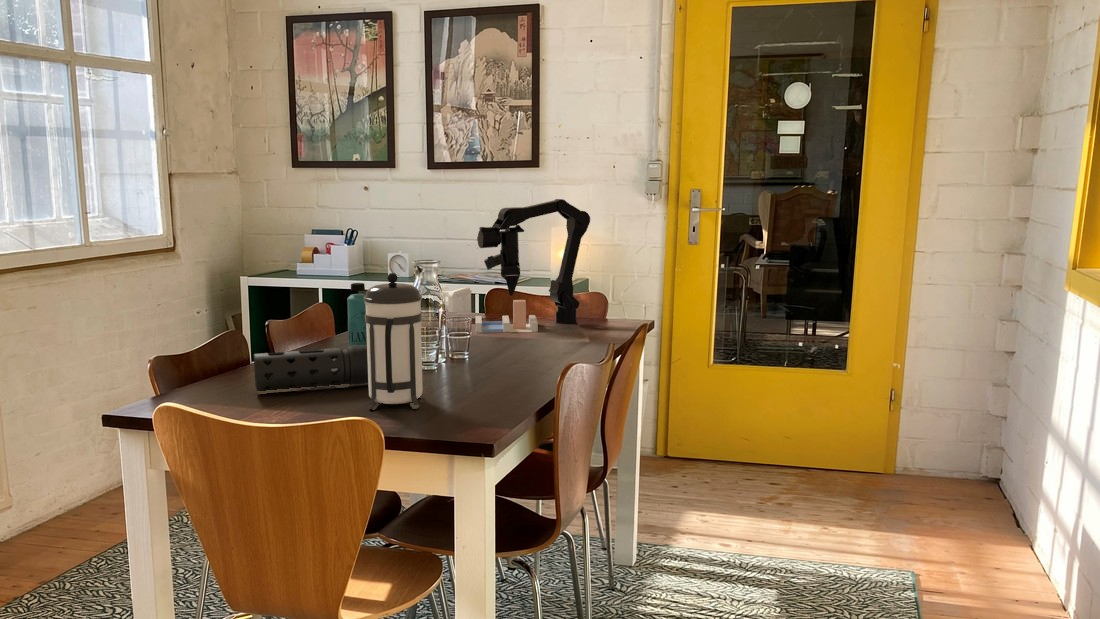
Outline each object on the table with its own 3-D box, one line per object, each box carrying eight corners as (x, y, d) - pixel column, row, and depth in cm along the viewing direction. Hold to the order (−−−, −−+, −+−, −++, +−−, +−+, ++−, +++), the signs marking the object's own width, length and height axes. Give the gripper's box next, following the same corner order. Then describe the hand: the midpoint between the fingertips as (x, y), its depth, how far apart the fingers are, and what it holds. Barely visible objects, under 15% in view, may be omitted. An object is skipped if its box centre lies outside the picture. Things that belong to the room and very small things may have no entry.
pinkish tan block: (525, 326, 286) (525, 299, 284) (526, 328, 282) (525, 301, 280) (513, 326, 285) (513, 300, 284) (513, 329, 281) (513, 301, 280)
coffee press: (345, 405, 194) (340, 273, 189) (404, 392, 205) (400, 267, 200) (389, 420, 182) (384, 280, 177) (449, 406, 193) (446, 274, 188)
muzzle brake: (255, 391, 207) (253, 349, 205) (372, 381, 217) (370, 340, 215) (256, 400, 198) (254, 357, 197) (378, 390, 208) (377, 348, 206)
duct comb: (534, 326, 291) (534, 315, 290) (537, 334, 277) (537, 322, 277) (475, 327, 289) (475, 315, 289) (475, 335, 276) (475, 323, 275)
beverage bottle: (344, 352, 251) (341, 284, 248) (354, 347, 257) (352, 281, 254) (364, 353, 249) (362, 284, 246) (374, 348, 256) (372, 281, 252)
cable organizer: (446, 316, 311) (445, 285, 309) (472, 318, 308) (472, 286, 306) (426, 323, 297) (426, 290, 295) (454, 325, 294) (453, 292, 292)
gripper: (485, 244, 290) (487, 290, 293) (484, 249, 272) (486, 298, 274) (518, 243, 291) (520, 289, 293) (519, 249, 272) (520, 297, 275)
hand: (511, 293), depth 284 cm, fingers open, 9 cm apart
